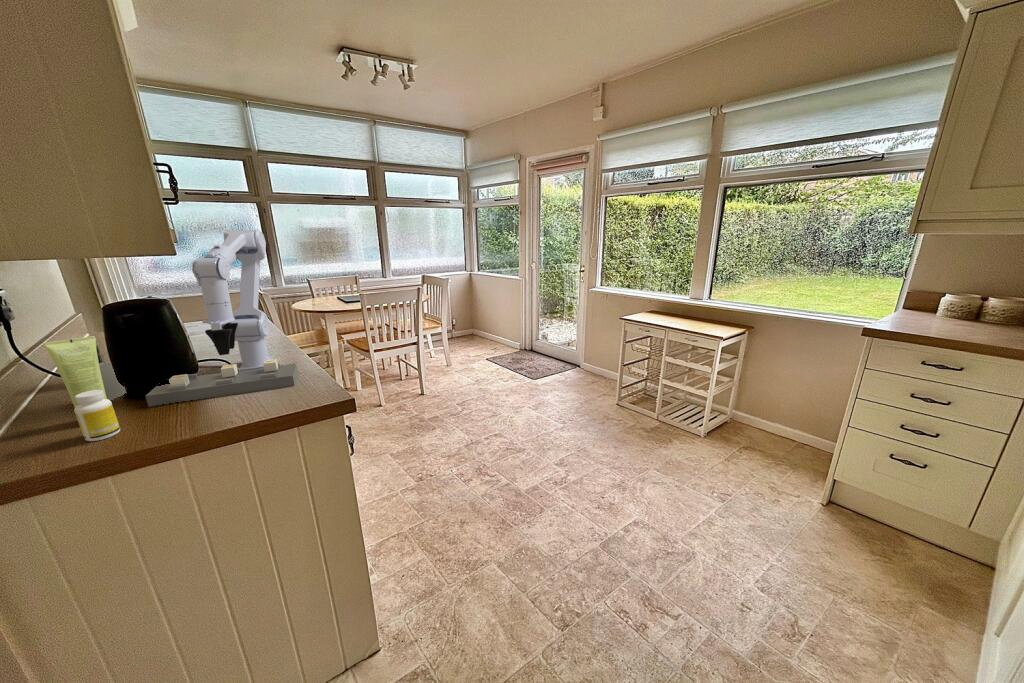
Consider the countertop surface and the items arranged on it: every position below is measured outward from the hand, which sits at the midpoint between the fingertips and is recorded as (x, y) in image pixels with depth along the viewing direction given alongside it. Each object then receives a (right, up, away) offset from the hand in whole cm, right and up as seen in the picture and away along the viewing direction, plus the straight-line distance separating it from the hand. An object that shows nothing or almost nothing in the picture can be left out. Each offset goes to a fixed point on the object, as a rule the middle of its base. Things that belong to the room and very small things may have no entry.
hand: (227, 351), depth 106 cm
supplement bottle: (-8, -18, -24) cm, 31 cm away
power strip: (+1, -10, 0) cm, 10 cm away
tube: (-17, -16, -18) cm, 29 cm away
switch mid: (+1, -7, 0) cm, 7 cm away
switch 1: (-7, -9, -7) cm, 13 cm away
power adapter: (-25, -12, -6) cm, 29 cm away
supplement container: (-42, -9, +4) cm, 43 cm away
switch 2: (+10, -5, +4) cm, 12 cm away
